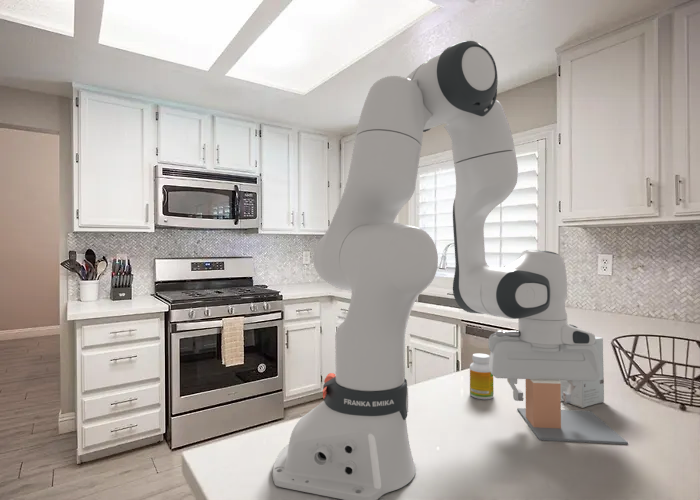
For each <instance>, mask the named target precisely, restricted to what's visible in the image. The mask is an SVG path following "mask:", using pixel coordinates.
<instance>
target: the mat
mask: <svg viewBox="0 0 700 500" xmlns="http://www.w3.org/2000/svg"><path fill="white" fill-rule="evenodd" d="M516 410H517V411H518V413H519V414H520V415H521V417H522V419H523V420H524V421H525V422H526V424H527V425H528V427H529V428H530V429H531V430H532V432H533V433H534V434H535V436H536V438H537V439H538V440H539V441H553V442H568V443H569V442H570V443H571V442H573V443H575V442H576V443H590V444H591V443H594V444H611V445H613V444H614V445H628V444H629V442H628V441H627V440H626V439H624V437H623V436H621V435H620V434H619V433H617V432H616V431H615V430H614V429H613V428H612V427H610V426H609V425H608V424H607V423H606V422H604V421H603V420H602V419H601V418H600V417H599V416H597V415H596V414H595V413H594V412H593V411H591V410H575V409H574V410H573V409H572V410H571V409H570V410H568V409H561V428H539V427H533V426H532V424H531V423H530V422H529V420H528V419H527V418H526V407H525V408H522V407H521V408H520V407H518V408H517V409H516Z"/></svg>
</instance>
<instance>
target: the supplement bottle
mask: <svg viewBox="0 0 700 500" xmlns="http://www.w3.org/2000/svg"><path fill="white" fill-rule="evenodd" d="M489 360H490V354H486V353H479V352H478V353H473V354H472V361H473V362H471V363H470V365H469V396H471V397H472V398H474V399H477V400H484V401H485V400H492V399H493V398H494V376H493V375H492V373H491V372H490V370H489Z"/></svg>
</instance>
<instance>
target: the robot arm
mask: <svg viewBox="0 0 700 500" xmlns="http://www.w3.org/2000/svg"><path fill="white" fill-rule="evenodd" d="M498 82H499V81H498V71H497V65H496V62H495V59H494V56H493V55H492V54H491V52H490V51H489V50H488V49H487V48H486V47H485V46H483V45H482V44H481V43H479V42H477V41H474V40H465V41H461V42H457V43H456V44H453V45H451V46H448V47H447V48H445V49H444V50H443V51H442V52H441V53H439V54H437V55H435V56H434V57H432V58H430V59H429V60H427V61H424V62H423V63H422V64H420V65H419V66H418V67H416V68H415V69H414V70H413V71H412V72H411V73H409V75H407V76H406V77H405V76H401V75H399V76H398V75H390V76H389V75H387V76H385V77H382V78H380V79H378V80H376V82H374V83H373V84H372V86H371V87H370V89H369V91H368V93H367V96H366V98H365V100H364V104H363V107H362V110H361V112H360V116H359V119H358V123H357V124H358V125H357V127H356V134H355V139H354V143H353V149H352V154H351V159H350V165H349V169H348V170H349V171H348V176H347V179H346V180H347V181H346V183H345V187H344V190H343V193H342V196H341V198H340V200H339V203H338V205H337V209H335V213H334V214H333V217H332V219H331V222H330V224H329V226H328V228H327V231H326V232H325V233H324V234H323V236H322V237H321V238H320V239H319V241H318V242H317V243H316V245H315V247H314V250H313V265H314V269H315V270H316V271H315V272H317V274H318V276H319V277H320V278H321V279H322V280H323V281H325V282H327V283H328V284H330V285H332V286H333V287H336V288H338V289H340V290H345V291H351V296H350V301H349V306H348V310H347V312H346V316H345V318H344V320H343V322H341V323H340V324H339V326H338V327H337V329H336V332H335V335H334V339H335V347H334V348H335V351H334V352H335V353H334V354H335V355H334V356H335V357H334V358H335V359H334V361H335V362H334V363H335V373H333V372H330V373H328V374H327V375H326V377H325V378H324V382H323V385H322V398H323V399H322V400H323V401H322V402H320V403H319V404H318V405H317V406H315V407H313V408H312V409H311V410H310V411H309V412H307V413H306V414H304V415H303V416H301V418H299V420H298V421H297V422H296V424H295V426H294V427H293V430H292V432H291V434H290V437H289V442H288V444H287V445H286V446H285V447H283V449H282V450H281V451H280V452H279V454H278V456H277V457H276V458H275V461H274V465H273V467H272V480H273V483H274V485H275V486H276V487H279V488H284V489H288V490H294V491H299V492H305V493H308V494H309V493H310V494H314V495H319V496H323V497H329V498H335V499H340V500H379V499H380V498H381V497H382V496H384V495H385V494H388V493H390V492H393V491H396V490H399V489H401V488H403V487H405V486H406V485H407V484H409V483H410V482H411V481H412V480H413V479H414V477H415V474H416V464H415V461H414V457H413V454H412V450H411V444H410V440H409V433H408V423H407V417H408V413H409V387H408V380H407V379H406V378H405V357H406V356H405V354H406V353H405V352H406V348H405V347H406V334H407V333H406V332H407V326H408V323H409V319H410V315H411V312H412V310H413V307H414V305H415V303H416V301H417V299H418V298H419V296H420V295H421V294H422V293H423V292H424V291H425V290H426V289H427V288H429V286H430V285H431V283H432V282H433V281H434V278H435V277H436V274H437V270H438V265H439V257H438V255H439V254H438V250H437V247H436V243H435V241H434V240H433V238H432V237H431V235H430V234H428V232H427V231H425V230H424V229H422V228H421V227H420V228H419V227H417V226H413V225H409V224H405V223H399V222H395V220H396V218H397V216H398V214H399V213H400V211H401V210H402V209H403V207H404V206H406V204H408V202H409V201H410V200H411V199H412V197H413V196H414V193H415V190H416V184H417V178H418V171H419V165H420V159H421V158H420V157H421V151H422V146H423V145H422V144H423V136H424V133H426V132H428V131H430V130H431V129H433V128H436V127H439V126H442V125H444V126H443V127H444V129H445V130H446V131H447V133H448V135H449V136H450V139H451V150H452V157H453V158H452V159H453V164H454V173H455V195H454V196H455V197H454V199H453V200H454V201H453V205H452V225H453V226H452V228H453V230H452V231H453V241H454V242H453V243H454V244H453V245H454V258H455V259H454V260H455V262H454V263H455V268H454V276H453V283H452V293H453V294H452V295H453V298H454V300H455V302H456V304H457V305H458V307H460V308H461V310H463V311H465V312H467V313H471V314H478V315H479V314H480V315H484V314H485V315H489V316H493V317H496V318H497V317H499V318H504V319H509V320H517V319H518V323H517V324H518V330H495V332H493V333H491V334H490V335H489V337H488V349H489V351H490V354H489V356H490V360H489V370H490V372H491V373H492V375H493V378H496V379H507V383H508V385H509V386H510V388H511V390H512V396H513V400H514V401H515V402H516V401H517V402H521V401H524V392H523V391H522V389H518V388H517V387H516V385H517V384H518V380H526V379H538V380H568V382H569V383H570V386H569V388H568V389H567V391H562V395H563V397H562V399H563V401H562V402H564V403H565V404H566V403H567V404H570V403H573V402H574V394H575V393H576V391H577V390H578V388H579V387H580V381H597V380H598V378H599V377H600V360H599V354H598V351H597V349H596V348H595V347H594V346H593V345H592V344H594V343H595V337H596V336H595V334H594V333H592V332H591V331H588V330H587V329H584V328H582V327H578V326H576V325H573V324H568V314H567V311H566V301H567V298H568V278H567V269H566V265H565V262H564V261H565V260H564V258H563V257H562V256H561V254H559V253H557V252H553V251H550V250H549V251H548V250H540V249H526V250H523V251H522V252H521V254H520V256H519V257H518V258H516V260H514V261H512V262H511V263H509V264H507V265H504V266H503V267H494V266H493V267H492V266H491V267H490V266H489V265H488V263H487V261H486V251H485V235H484V234H485V232H484V231H485V222H486V220H487V217H488V216H489V214H490V213H491V212H492V211H493V210H495V208H496V207H498V206H499V205H500V204H502V203H503V202H504V201H505V200H506V199H508V197H509V196H510V195H511V193H512V192H513V191H514V189H515V187H516V185H517V184H518V177H519V176H518V175H519V174H518V173H519V169H518V168H519V167H518V160H517V154H516V148H515V143H514V139H513V134H512V130H511V127H510V123H509V120H508V117H507V115H506V112H505V109H504V107H503V105H502V103H501V102H500V101H499V100H498V99H497V97H498V96H497V95H498Z"/></svg>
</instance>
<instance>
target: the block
mask: <svg viewBox="0 0 700 500" xmlns="http://www.w3.org/2000/svg"><path fill="white" fill-rule="evenodd" d="M561 401H562V400H561V382H560V381H559V380H538V379H525V408H526V418H527V419H528V420H529V422H530V423H531V424H532V426H533V427H539V428H561V410H562V403H561Z"/></svg>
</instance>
